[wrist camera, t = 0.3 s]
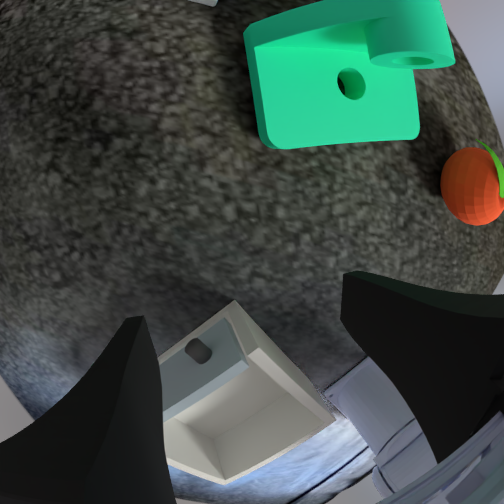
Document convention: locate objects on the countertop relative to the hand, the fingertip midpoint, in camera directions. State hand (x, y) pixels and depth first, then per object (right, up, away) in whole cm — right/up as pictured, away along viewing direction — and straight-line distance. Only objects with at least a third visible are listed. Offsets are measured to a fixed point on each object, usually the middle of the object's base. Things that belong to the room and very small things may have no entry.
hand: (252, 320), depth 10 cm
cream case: (-3, -9, +13) cm, 16 cm away
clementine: (+18, +10, +13) cm, 25 cm away
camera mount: (+5, +14, +8) cm, 17 cm away
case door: (-6, -5, +10) cm, 12 cm away
